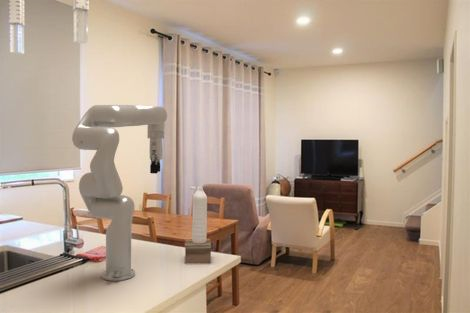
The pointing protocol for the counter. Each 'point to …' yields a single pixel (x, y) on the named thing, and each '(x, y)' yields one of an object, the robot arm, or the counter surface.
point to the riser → (197, 252)
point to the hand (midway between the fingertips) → (155, 172)
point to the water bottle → (199, 216)
